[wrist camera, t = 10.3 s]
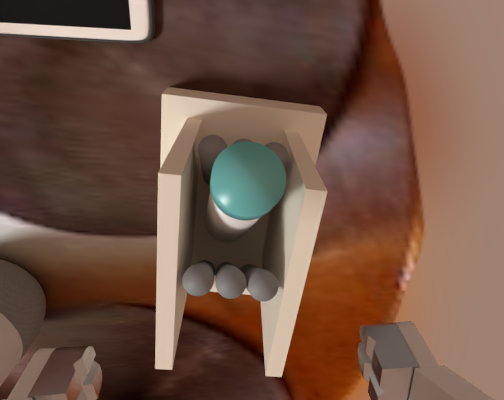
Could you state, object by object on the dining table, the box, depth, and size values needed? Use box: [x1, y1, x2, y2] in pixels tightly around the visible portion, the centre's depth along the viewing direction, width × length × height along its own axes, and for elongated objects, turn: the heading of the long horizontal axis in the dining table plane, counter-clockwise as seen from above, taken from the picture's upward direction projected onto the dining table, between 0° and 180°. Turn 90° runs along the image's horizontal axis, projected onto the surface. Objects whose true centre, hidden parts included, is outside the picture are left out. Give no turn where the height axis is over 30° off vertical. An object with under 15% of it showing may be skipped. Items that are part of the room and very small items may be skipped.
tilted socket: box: [155, 87, 328, 377], centre depth 24 cm, size 14×11×12 cm
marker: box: [205, 142, 286, 243], centre depth 22 cm, size 3×3×11 cm
